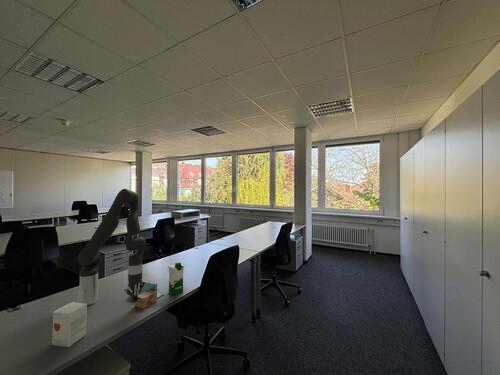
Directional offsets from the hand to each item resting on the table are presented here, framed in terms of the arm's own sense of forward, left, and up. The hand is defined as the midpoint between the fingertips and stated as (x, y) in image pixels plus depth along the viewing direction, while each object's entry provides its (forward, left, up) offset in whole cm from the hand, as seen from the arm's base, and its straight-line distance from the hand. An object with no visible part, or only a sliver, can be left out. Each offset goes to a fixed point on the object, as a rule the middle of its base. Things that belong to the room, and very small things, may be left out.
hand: (134, 301), depth 127 cm
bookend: (+16, +7, -4) cm, 17 cm away
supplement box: (-31, +4, -4) cm, 32 cm away
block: (+7, -2, -4) cm, 8 cm away
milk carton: (+26, -8, -4) cm, 27 cm away
